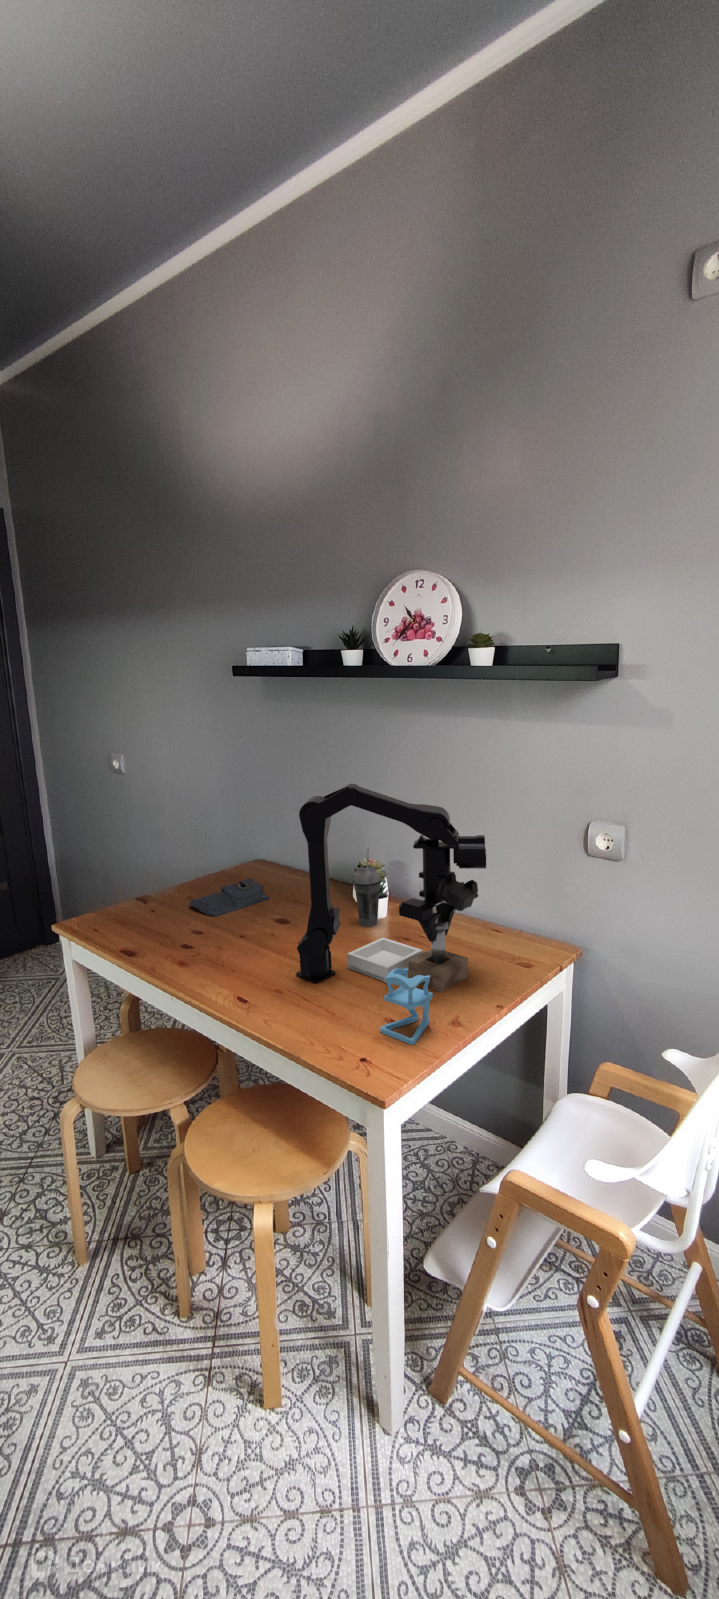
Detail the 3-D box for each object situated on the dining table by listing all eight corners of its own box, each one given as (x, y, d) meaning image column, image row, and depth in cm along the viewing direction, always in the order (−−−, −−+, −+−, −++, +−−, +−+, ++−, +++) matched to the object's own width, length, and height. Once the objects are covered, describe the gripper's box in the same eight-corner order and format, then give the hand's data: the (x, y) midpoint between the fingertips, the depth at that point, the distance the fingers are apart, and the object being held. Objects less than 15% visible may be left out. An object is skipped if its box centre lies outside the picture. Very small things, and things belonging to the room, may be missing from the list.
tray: (387, 983, 156) (387, 967, 156) (347, 968, 165) (347, 953, 164) (423, 964, 165) (422, 950, 164) (383, 951, 173) (382, 937, 172)
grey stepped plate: (182, 908, 210) (180, 892, 209) (243, 888, 225) (242, 873, 224) (213, 920, 199) (211, 903, 198) (275, 898, 214) (274, 883, 213)
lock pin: (440, 968, 154) (439, 927, 152) (424, 963, 157) (423, 922, 155) (453, 961, 157) (452, 921, 155) (436, 956, 160) (435, 916, 158)
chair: (439, 1027, 137) (438, 967, 135) (412, 1045, 131) (410, 983, 129) (407, 1014, 143) (405, 957, 140) (379, 1032, 137) (377, 972, 134)
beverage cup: (349, 926, 189) (346, 851, 186) (362, 916, 196) (359, 844, 192) (374, 930, 186) (372, 854, 182) (387, 920, 192) (384, 847, 188)
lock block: (442, 992, 151) (441, 971, 150) (408, 979, 157) (408, 960, 157) (467, 977, 158) (467, 957, 157) (434, 966, 164) (434, 947, 163)
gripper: (440, 886, 141) (441, 962, 144) (494, 864, 154) (494, 934, 157) (396, 876, 148) (398, 948, 151) (451, 855, 161) (452, 922, 164)
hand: (438, 938), depth 156 cm, fingers closed on lock pin, 4 cm apart
